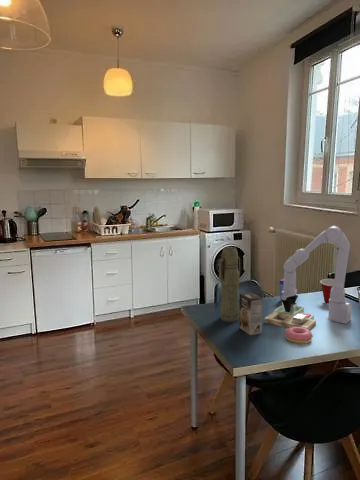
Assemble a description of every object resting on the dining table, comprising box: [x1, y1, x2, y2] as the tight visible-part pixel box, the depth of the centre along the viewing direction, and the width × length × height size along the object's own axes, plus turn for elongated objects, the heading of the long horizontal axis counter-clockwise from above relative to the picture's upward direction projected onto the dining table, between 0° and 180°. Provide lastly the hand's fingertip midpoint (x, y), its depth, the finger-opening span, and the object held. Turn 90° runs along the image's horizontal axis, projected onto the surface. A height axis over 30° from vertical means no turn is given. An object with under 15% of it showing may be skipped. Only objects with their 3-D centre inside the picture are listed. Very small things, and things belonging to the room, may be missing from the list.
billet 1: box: [281, 302, 298, 314], centre depth 181 cm, size 4×6×5 cm, turn 51°
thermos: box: [218, 246, 241, 323], centre depth 173 cm, size 9×12×35 cm
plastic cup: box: [319, 278, 335, 305], centre depth 195 cm, size 11×11×12 cm
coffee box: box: [239, 292, 263, 336], centre depth 160 cm, size 9×6×16 cm
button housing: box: [300, 312, 315, 320], centre depth 172 cm, size 6×6×2 cm
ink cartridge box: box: [279, 278, 284, 302], centre depth 201 cm, size 10×6×14 cm, turn 138°
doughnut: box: [284, 327, 313, 344], centre depth 151 cm, size 11×11×4 cm
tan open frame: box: [264, 311, 317, 331], centre depth 167 cm, size 20×11×2 cm, turn 51°
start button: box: [302, 312, 312, 318], centre depth 172 cm, size 4×4×2 cm
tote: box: [273, 305, 305, 316], centre depth 181 cm, size 10×13×2 cm
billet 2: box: [293, 314, 307, 325], centre depth 164 cm, size 4×6×5 cm, turn 141°
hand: (289, 310), depth 181 cm, fingers closed on billet 1, 4 cm apart
